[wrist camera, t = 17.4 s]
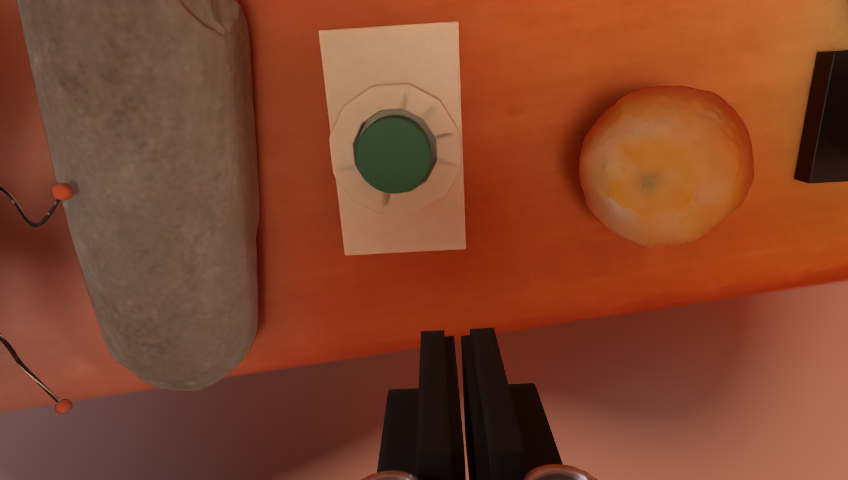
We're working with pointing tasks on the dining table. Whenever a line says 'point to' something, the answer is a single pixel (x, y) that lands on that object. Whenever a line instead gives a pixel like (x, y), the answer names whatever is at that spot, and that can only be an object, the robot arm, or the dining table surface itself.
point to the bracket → (826, 122)
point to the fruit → (666, 165)
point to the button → (393, 154)
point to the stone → (156, 174)
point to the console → (407, 96)
